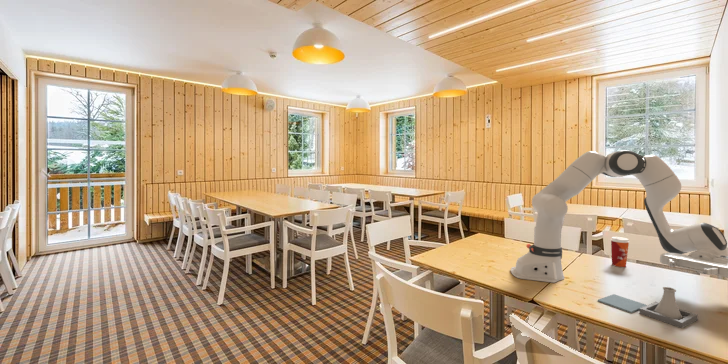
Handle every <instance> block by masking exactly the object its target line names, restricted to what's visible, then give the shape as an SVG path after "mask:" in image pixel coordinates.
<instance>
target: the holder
mask: <svg viewBox="0 0 728 364" xmlns="http://www.w3.org/2000/svg"><path fill="white" fill-rule="evenodd" d="M659 302H660V301H659ZM659 302H658V301H655V302H652V303H649V304H646V305H647V306H644V307H642V308H640V310H639V314H640V315H643V316H646V317H649V318H652V319H655V320H657V321H660V322H664V323H666V324H669V325H672V326H675V327H677V328H681V329H683V328H684V327H686V326H688V325H690V324H692V323H694V322H696V321H698V318H699V315H698V314H696V313H693V312H690V311H687V310H684V309H680V308H678V309H679V311H680V313H681V316H682V319H680V320H677V319H674V318H671V317H668V316H665V315H662V314H659V313H656V312H654V310H655V308H656V307H657V305H658V304H659Z"/></svg>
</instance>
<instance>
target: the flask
mask: <svg viewBox="0 0 728 364" xmlns="http://www.w3.org/2000/svg"><path fill="white" fill-rule="evenodd" d="M662 290H663V293H662V297H661V299H660V300H659V304H658V305H657V307H656V308H655V310H653V312H656V313H659V314H662V315H665V316H668V317H671V318H674V319H677V320H680V319H682V318H683V316H681V313H680V311H679V309H680V308H679V307H678V304H677V300H676V296H675V294H676V292H677V290H676V289H675V288H673V287H670V286H663V287H662Z"/></svg>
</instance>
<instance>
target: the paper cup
mask: <svg viewBox="0 0 728 364" xmlns="http://www.w3.org/2000/svg"><path fill="white" fill-rule="evenodd" d="M609 241H610V243H611V245H610V246H611V248H610V249H611V251H610V252H611V253H610V254H611V264H612V266H614V267H619V268H626V267H627V260H628V255H629V253H628V252H629V245H630V239H629V238H628V237H627V238H626V237H621V236H612V237H611V238H610V240H609Z"/></svg>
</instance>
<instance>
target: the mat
mask: <svg viewBox="0 0 728 364" xmlns="http://www.w3.org/2000/svg"><path fill="white" fill-rule="evenodd" d="M597 302H599V303H601V304H604V305H607V306H610V307H612V308H614V309H615V308H616V309H618V310H621V311H624V312H627V313H629V314H633V313H635V312H637V311H640V308H642V307H644V306H647V305H648V304H646V303H643V302H639V301H635V300H634V299H630V298H627V297H623V296H620V295H617V294H614V293H613V294H610V295H608V296H605V297H602V298H599V299H597Z"/></svg>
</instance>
